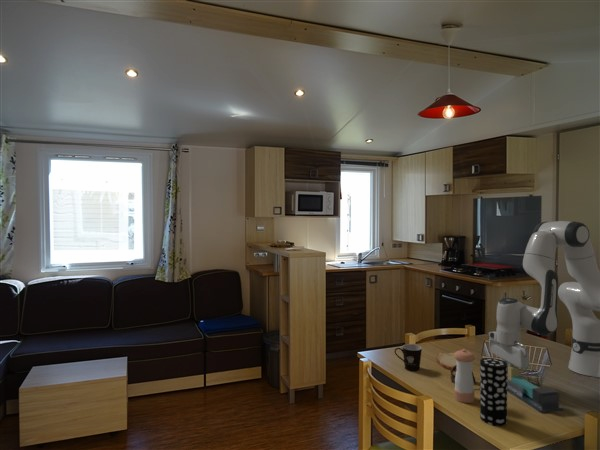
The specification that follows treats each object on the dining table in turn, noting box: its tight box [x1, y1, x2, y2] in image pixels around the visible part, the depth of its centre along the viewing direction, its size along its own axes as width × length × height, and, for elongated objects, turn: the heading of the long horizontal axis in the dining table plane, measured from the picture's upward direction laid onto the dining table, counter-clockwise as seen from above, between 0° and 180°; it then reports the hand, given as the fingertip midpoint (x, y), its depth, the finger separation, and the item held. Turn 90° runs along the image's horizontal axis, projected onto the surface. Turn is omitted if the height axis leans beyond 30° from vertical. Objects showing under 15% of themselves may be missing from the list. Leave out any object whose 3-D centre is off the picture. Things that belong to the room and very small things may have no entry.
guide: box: [507, 378, 565, 414], centre depth 153 cm, size 9×24×6 cm, turn 10°
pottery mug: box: [449, 365, 476, 384], centre depth 168 cm, size 12×10×8 cm
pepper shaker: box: [453, 348, 475, 404], centre depth 152 cm, size 7×7×19 cm
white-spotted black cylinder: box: [479, 357, 508, 427], centre depth 136 cm, size 8×8×20 cm
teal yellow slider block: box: [507, 365, 540, 398], centre depth 155 cm, size 4×15×7 cm, turn 10°
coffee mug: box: [394, 343, 423, 372], centre depth 183 cm, size 12×9×10 cm
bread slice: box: [435, 351, 457, 373], centre depth 189 cm, size 18×18×4 cm
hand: (508, 371), depth 164 cm, fingers closed
